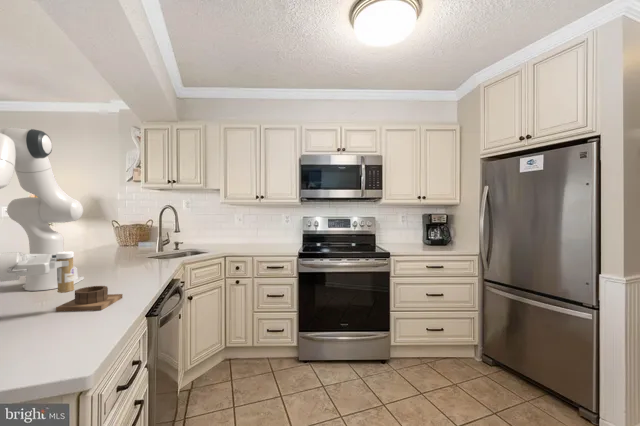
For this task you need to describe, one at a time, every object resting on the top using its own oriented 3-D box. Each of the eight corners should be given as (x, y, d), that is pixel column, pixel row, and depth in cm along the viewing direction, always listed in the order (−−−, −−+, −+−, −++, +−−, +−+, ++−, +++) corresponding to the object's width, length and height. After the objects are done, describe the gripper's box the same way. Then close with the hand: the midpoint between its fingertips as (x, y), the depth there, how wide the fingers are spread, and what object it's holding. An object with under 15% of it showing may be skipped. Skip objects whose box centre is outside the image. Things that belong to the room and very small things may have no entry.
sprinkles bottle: (73, 291, 102) (72, 252, 101) (55, 294, 100) (54, 253, 99) (75, 288, 106) (74, 250, 105) (58, 290, 103) (57, 251, 103)
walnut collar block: (83, 298, 115) (82, 284, 115) (122, 297, 117) (122, 283, 117) (56, 311, 101) (55, 295, 101) (101, 310, 103) (101, 294, 103)
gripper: (5, 261, 86) (68, 257, 95) (15, 252, 102) (69, 248, 111) (5, 283, 86) (68, 276, 95) (16, 270, 102) (69, 265, 111)
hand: (68, 261), depth 103 cm, fingers closed on sprinkles bottle, 4 cm apart
